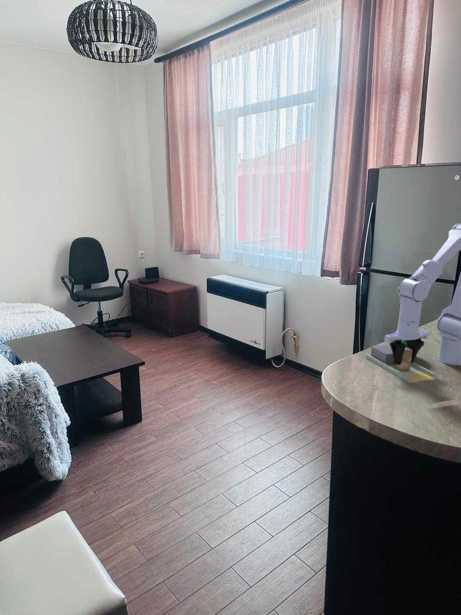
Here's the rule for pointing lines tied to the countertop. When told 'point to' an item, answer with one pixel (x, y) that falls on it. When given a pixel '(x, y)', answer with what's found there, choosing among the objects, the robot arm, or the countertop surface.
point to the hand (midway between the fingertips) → (403, 362)
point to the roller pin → (405, 360)
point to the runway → (409, 376)
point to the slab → (383, 354)
